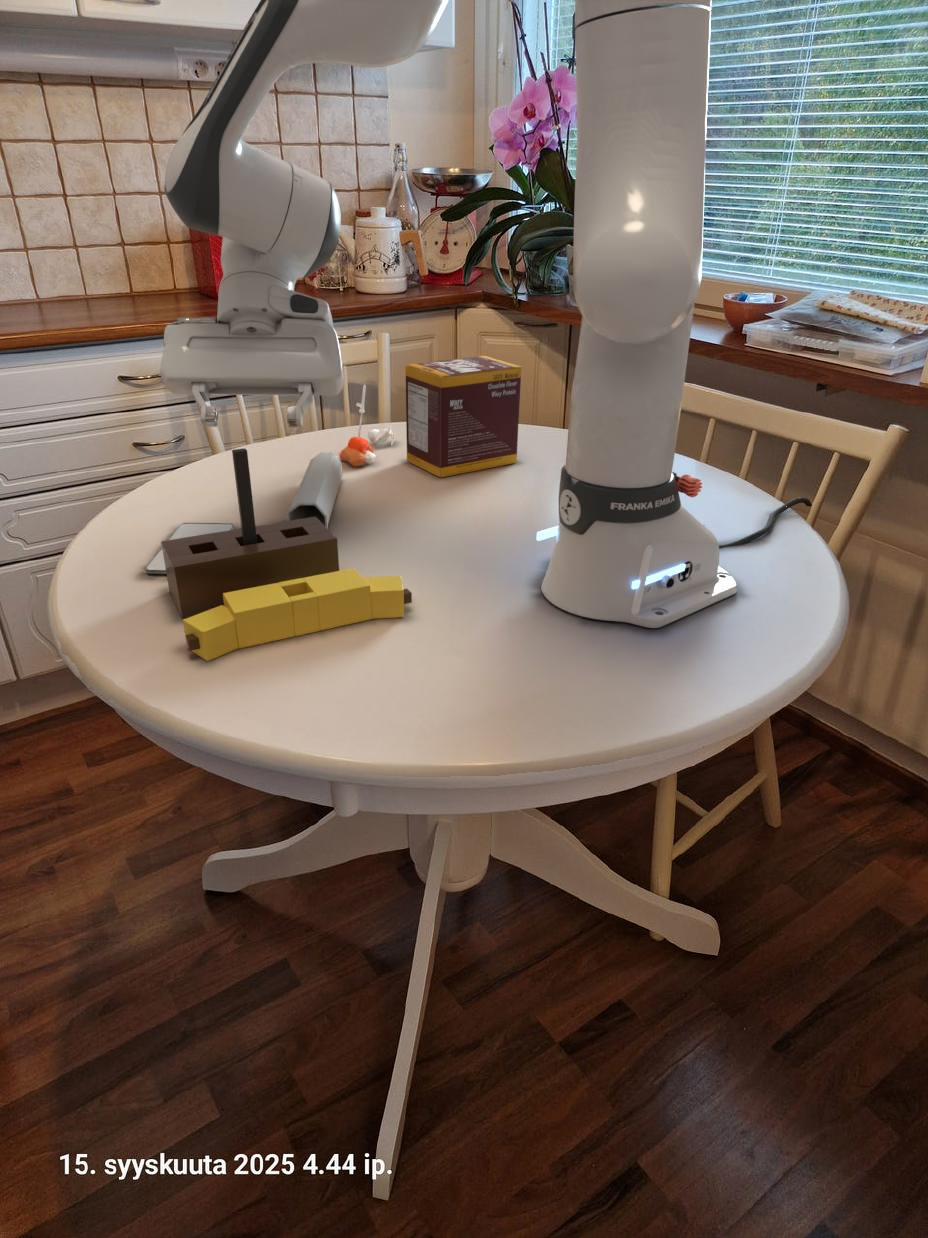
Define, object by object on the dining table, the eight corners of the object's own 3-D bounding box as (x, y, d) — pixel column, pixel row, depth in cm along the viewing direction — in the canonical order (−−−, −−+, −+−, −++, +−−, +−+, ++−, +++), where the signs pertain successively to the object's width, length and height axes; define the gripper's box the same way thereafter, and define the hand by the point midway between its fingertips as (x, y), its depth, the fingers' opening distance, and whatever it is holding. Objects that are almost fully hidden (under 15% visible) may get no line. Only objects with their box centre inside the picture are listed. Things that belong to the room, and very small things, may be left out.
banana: (181, 637, 82) (175, 602, 80) (393, 592, 92) (393, 560, 90) (193, 664, 77) (187, 627, 76) (415, 614, 87) (415, 580, 85)
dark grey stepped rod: (262, 585, 93) (246, 447, 85) (264, 589, 92) (249, 450, 84) (246, 588, 92) (229, 449, 84) (248, 592, 91) (232, 452, 84)
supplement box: (518, 462, 135) (523, 365, 127) (439, 478, 127) (440, 375, 120) (482, 447, 142) (484, 354, 135) (405, 461, 135) (404, 363, 127)
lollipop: (381, 452, 139) (379, 380, 133) (373, 469, 130) (370, 393, 125) (345, 451, 139) (342, 379, 133) (335, 468, 131) (330, 392, 125)
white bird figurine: (369, 433, 146) (377, 408, 144) (393, 443, 147) (402, 419, 145) (361, 446, 139) (370, 420, 137) (387, 456, 140) (396, 431, 138)
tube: (304, 453, 124) (278, 509, 102) (337, 442, 124) (318, 496, 102) (318, 485, 127) (295, 547, 104) (350, 474, 126) (334, 534, 104)
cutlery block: (169, 591, 91) (160, 541, 88) (318, 563, 98) (315, 516, 96) (182, 619, 85) (173, 566, 83) (340, 587, 93) (337, 538, 90)
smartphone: (235, 523, 107) (204, 571, 94) (235, 527, 108) (205, 575, 94) (181, 522, 107) (143, 570, 94) (182, 526, 108) (144, 574, 94)
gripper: (157, 299, 91) (147, 409, 87) (341, 301, 93) (340, 409, 89) (173, 335, 97) (165, 438, 93) (346, 336, 99) (345, 438, 95)
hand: (251, 424), depth 91 cm, fingers open, 8 cm apart
